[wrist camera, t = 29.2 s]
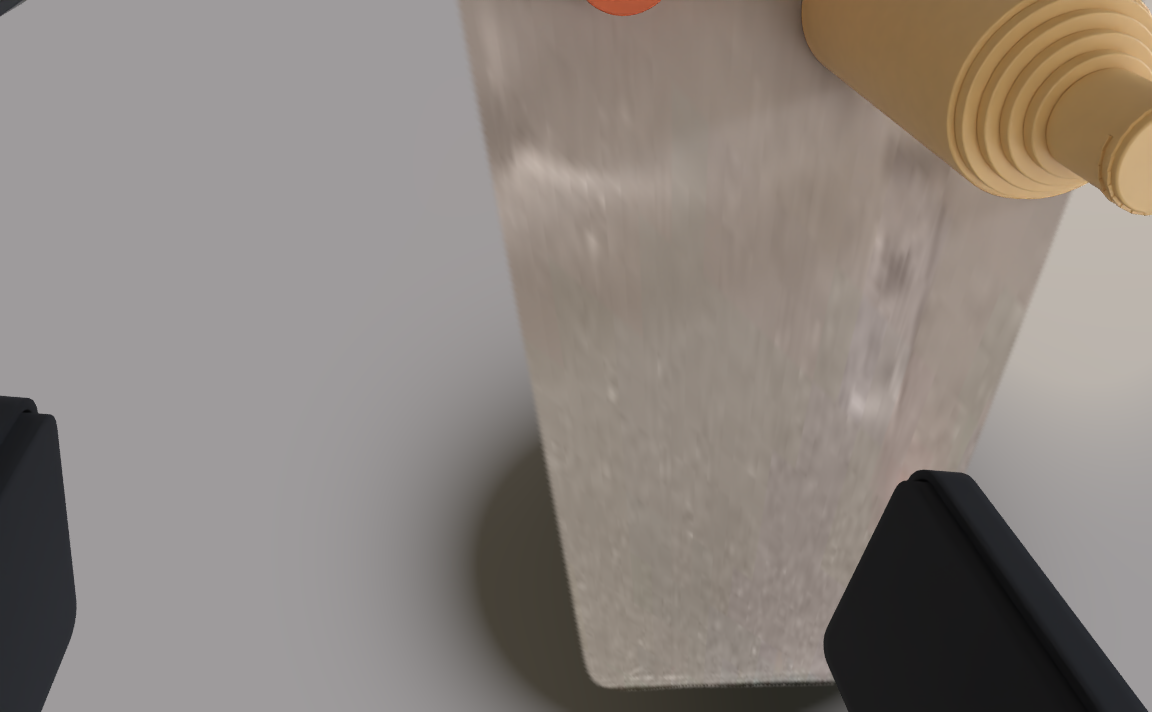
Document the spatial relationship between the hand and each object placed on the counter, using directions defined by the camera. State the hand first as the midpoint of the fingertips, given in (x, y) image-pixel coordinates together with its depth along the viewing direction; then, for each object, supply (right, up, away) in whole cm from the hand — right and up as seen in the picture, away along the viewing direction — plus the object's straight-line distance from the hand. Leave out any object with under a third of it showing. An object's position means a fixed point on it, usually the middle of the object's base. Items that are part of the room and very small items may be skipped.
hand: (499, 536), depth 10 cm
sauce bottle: (+13, +17, +27) cm, 35 cm away
